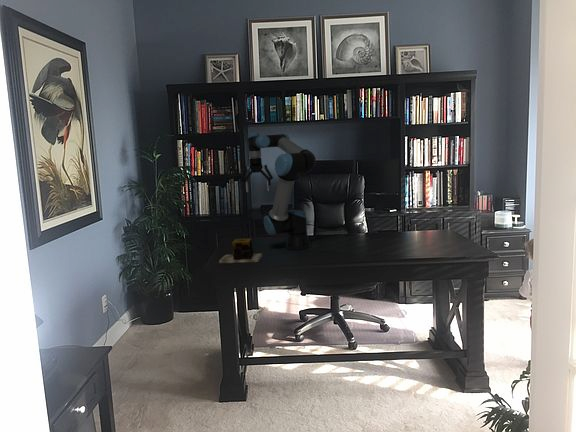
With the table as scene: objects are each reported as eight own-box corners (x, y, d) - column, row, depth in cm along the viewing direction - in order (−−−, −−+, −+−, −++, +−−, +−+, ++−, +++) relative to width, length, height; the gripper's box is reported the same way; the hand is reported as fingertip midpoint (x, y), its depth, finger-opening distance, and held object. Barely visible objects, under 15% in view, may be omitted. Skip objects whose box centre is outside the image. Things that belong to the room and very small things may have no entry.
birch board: (262, 255, 289) (262, 253, 289) (257, 261, 275) (257, 259, 275) (225, 257, 292) (225, 254, 292) (219, 263, 278) (219, 260, 278)
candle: (251, 259, 276) (249, 241, 274) (233, 260, 276) (231, 242, 275) (253, 255, 286) (252, 238, 284) (236, 256, 286) (234, 239, 285)
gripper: (275, 156, 314) (278, 189, 317) (237, 158, 317) (240, 191, 320) (273, 156, 306) (276, 190, 309) (234, 159, 310) (237, 193, 313)
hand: (257, 191), depth 315 cm, fingers open, 13 cm apart
